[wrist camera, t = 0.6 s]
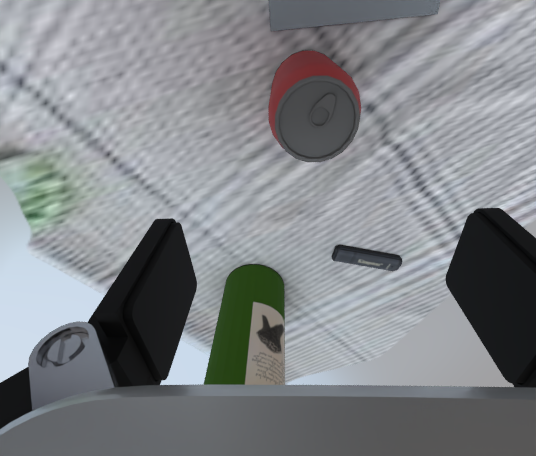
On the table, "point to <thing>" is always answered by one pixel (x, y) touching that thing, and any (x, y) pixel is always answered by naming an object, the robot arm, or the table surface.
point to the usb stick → (366, 258)
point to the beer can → (313, 107)
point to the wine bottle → (249, 330)
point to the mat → (343, 11)
